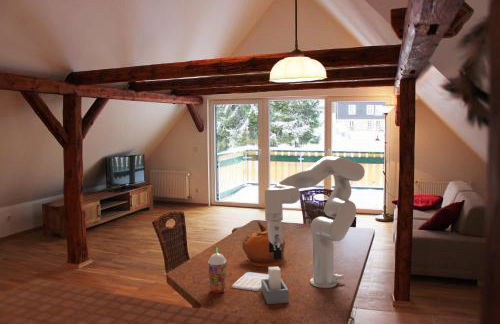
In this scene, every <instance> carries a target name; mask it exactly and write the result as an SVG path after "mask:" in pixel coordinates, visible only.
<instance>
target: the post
mask: <svg viewBox="0 0 500 324" xmlns="http://www.w3.org/2000/svg"><path fill="white" fill-rule="evenodd" d="M267 269H268V271H267V274H268V282H269V290H278V289H281V279H282V277H281V276H282V273H281V272H282V271H281V268H280V266H268V267H267Z"/></svg>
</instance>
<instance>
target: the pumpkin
mask: <svg viewBox="0 0 500 324" xmlns="http://www.w3.org/2000/svg"><path fill="white" fill-rule="evenodd" d="M256 222H257V225H258V226H259V229H260V230H259V231H256V232H251V233H250V234H249V235H247V236H245V237H244V239H243V240H242V243H241V244H242V250H243V252H244V254H245V255H246V258H247V262H248V263H249V264H251V265H252V264H253V266H256V267H257V266H258V267H265V268H268V267H278V266H281V265H283V264H285V263H286V261H287V259H286V257H285V255H284V252H285V245H286V242H285V239H284V237H283V244H281V243H280V245H281V259H274V252H271V253H270V252H269V239H268V228H266V227H265V226H264V225H263V224H262V223H261V222H260V221H258V220H257V221H256ZM275 243H276V242H275Z"/></svg>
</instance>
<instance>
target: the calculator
mask: <svg viewBox="0 0 500 324" xmlns="http://www.w3.org/2000/svg"><path fill="white" fill-rule="evenodd" d="M261 279H268V273H260V272H253V271H252V272H251V271H247V272H246V271H245V273H244V274H243V275H242V276H240V277H239V278H238V280H236V281H235V282H234V283H233V284H232V285H231V289H237V290H245V291H251V290H252V292H259V291H260V290H262V283H261Z"/></svg>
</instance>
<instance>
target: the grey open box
mask: <svg viewBox="0 0 500 324" xmlns="http://www.w3.org/2000/svg"><path fill="white" fill-rule="evenodd" d="M261 283H262V288H261V293H262V295H263V298H264V300H265V302H266V304H267V305H274V304H287V303H289V302H290V299H289V294H290V293H289V289H288V287H287V285H286V284H285V282H284V280H283V279H282V278H281V289H278V290H269V282H268V279H261Z"/></svg>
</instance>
